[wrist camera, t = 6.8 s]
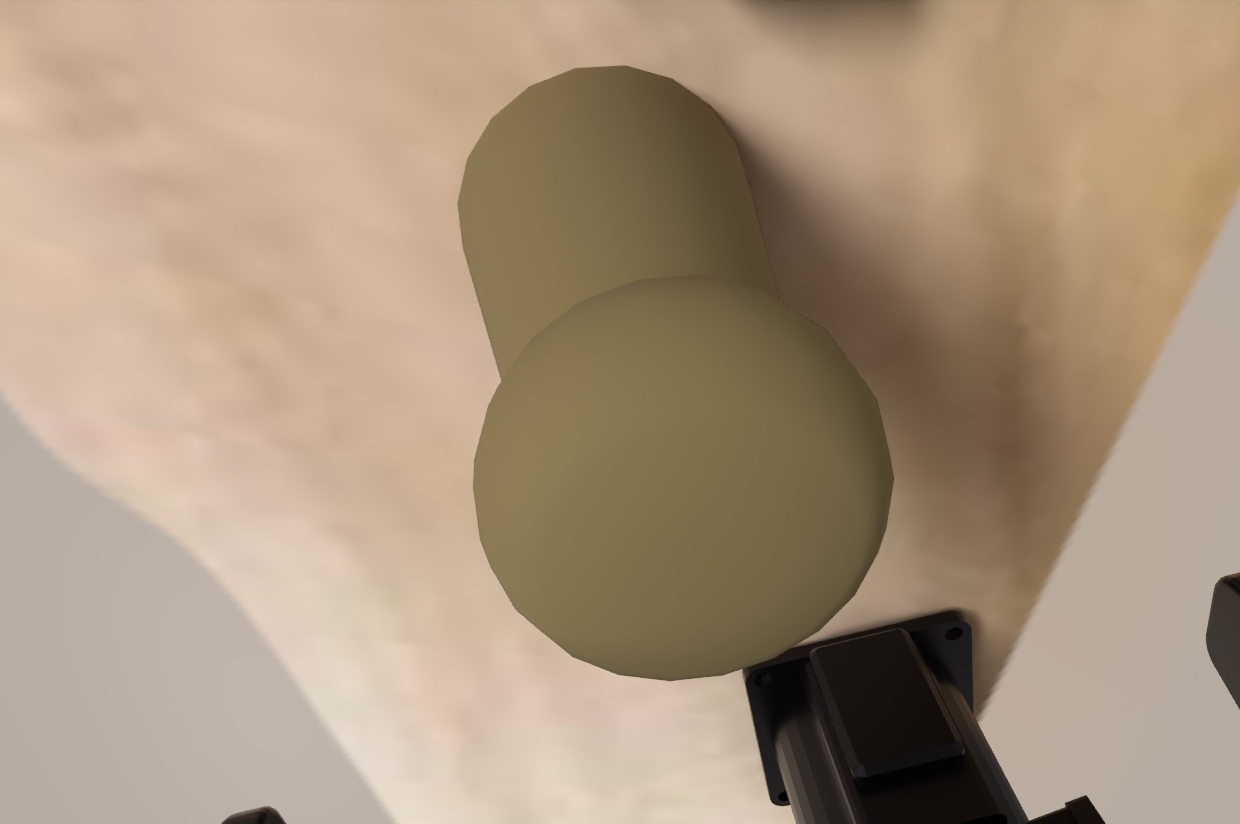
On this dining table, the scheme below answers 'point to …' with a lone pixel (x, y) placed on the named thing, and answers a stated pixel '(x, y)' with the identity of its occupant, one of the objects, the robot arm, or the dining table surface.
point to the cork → (656, 391)
